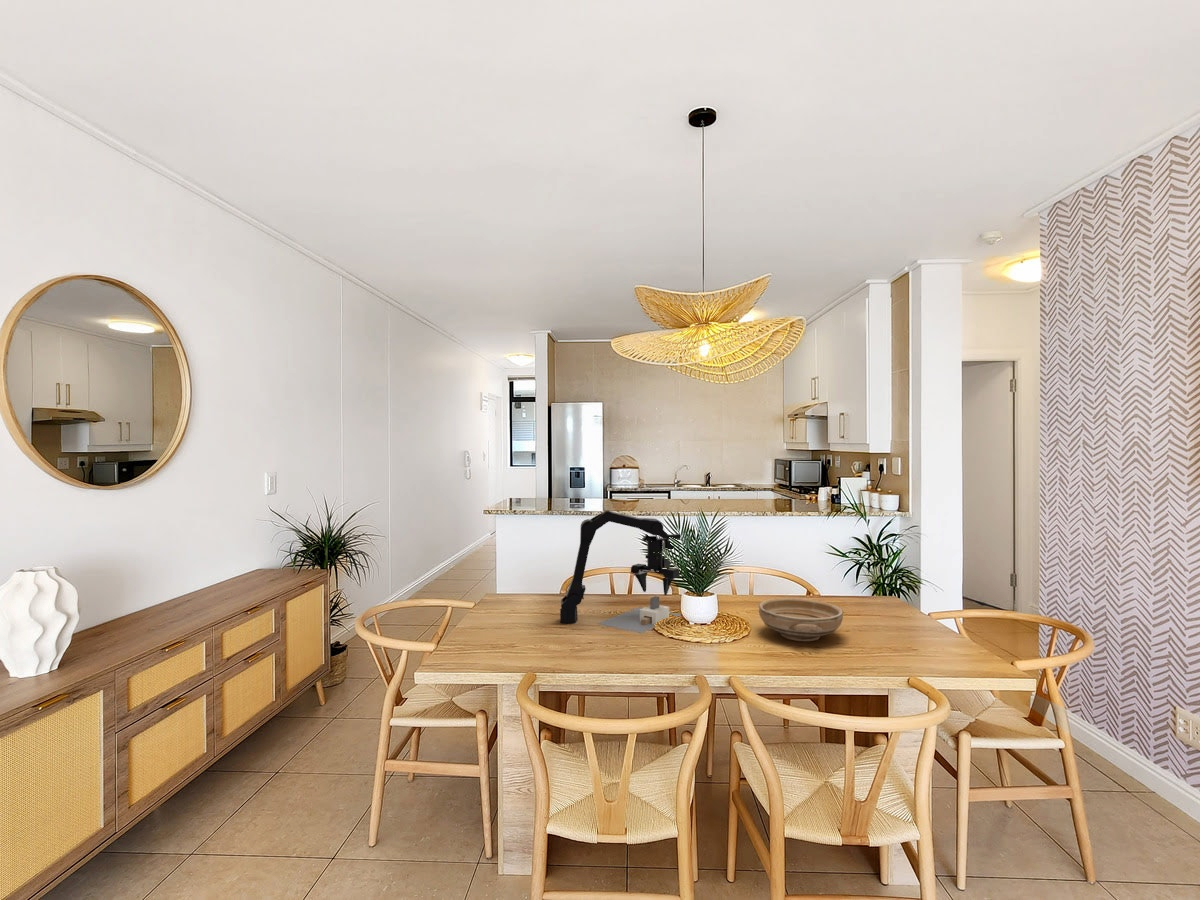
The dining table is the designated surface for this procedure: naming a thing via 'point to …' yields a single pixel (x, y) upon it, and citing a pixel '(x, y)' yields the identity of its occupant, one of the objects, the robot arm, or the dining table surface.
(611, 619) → the cleat board
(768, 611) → the ceramic bowl
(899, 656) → the dining table surface
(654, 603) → the cabinet block
